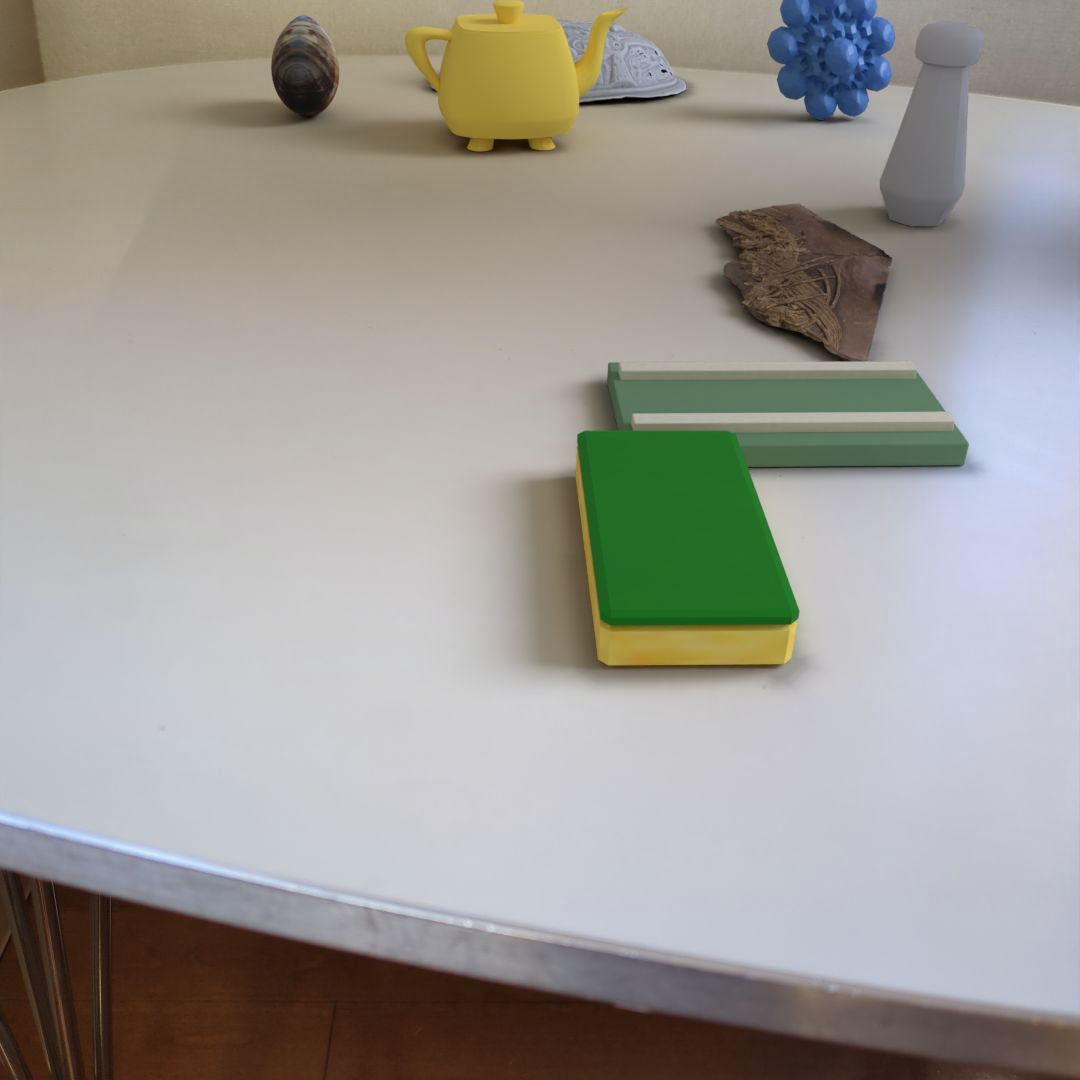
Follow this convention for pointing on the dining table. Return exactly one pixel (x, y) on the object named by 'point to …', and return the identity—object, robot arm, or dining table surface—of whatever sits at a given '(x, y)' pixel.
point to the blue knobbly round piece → (831, 54)
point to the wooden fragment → (808, 276)
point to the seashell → (305, 67)
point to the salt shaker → (933, 128)
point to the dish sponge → (680, 552)
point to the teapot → (510, 74)
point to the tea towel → (794, 410)
